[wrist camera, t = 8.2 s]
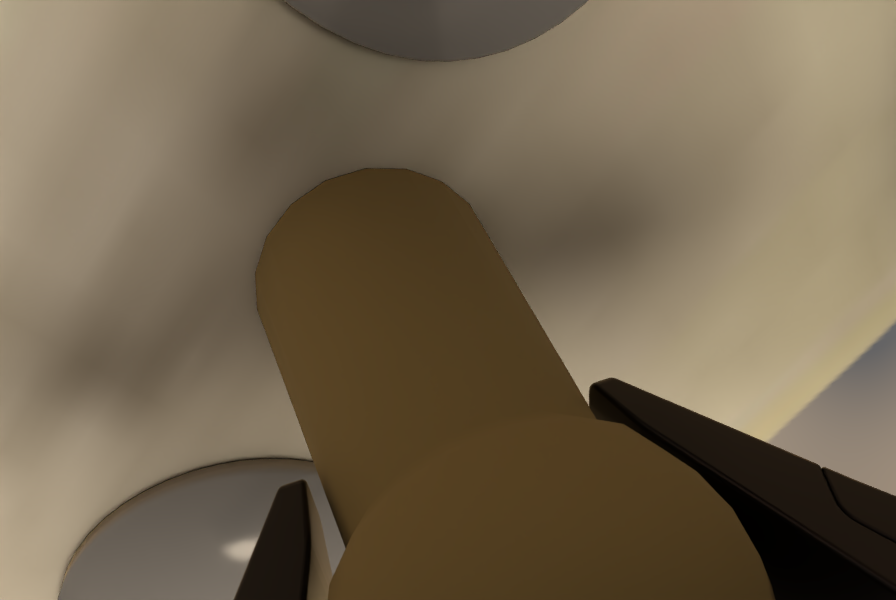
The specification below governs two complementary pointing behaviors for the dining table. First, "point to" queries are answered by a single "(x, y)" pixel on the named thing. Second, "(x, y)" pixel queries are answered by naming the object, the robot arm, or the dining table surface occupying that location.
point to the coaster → (438, 24)
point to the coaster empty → (190, 534)
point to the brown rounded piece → (468, 420)
